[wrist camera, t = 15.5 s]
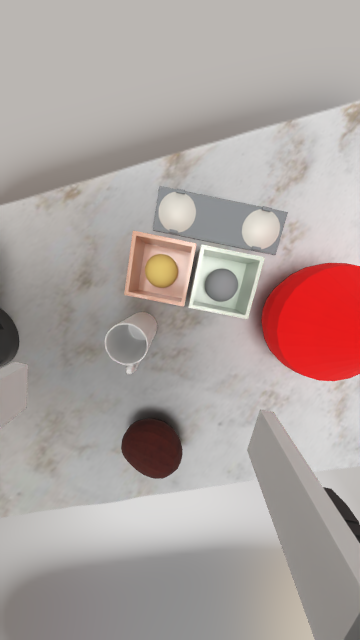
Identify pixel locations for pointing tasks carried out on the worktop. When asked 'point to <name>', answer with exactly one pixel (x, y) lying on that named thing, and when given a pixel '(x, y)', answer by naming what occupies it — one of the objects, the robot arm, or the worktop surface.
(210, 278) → the ball grey
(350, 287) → the vase
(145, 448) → the potato
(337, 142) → the worktop surface
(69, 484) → the worktop surface
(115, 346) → the mug
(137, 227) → the worktop surface
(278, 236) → the slate card
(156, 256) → the ball mustard
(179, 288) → the salmon open box
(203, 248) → the sage open box
